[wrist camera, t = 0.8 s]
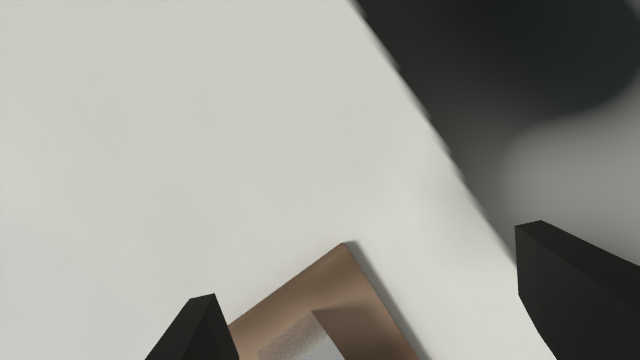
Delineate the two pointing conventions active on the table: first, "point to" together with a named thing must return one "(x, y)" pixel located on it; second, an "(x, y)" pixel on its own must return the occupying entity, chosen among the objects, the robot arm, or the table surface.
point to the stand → (326, 312)
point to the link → (301, 343)
